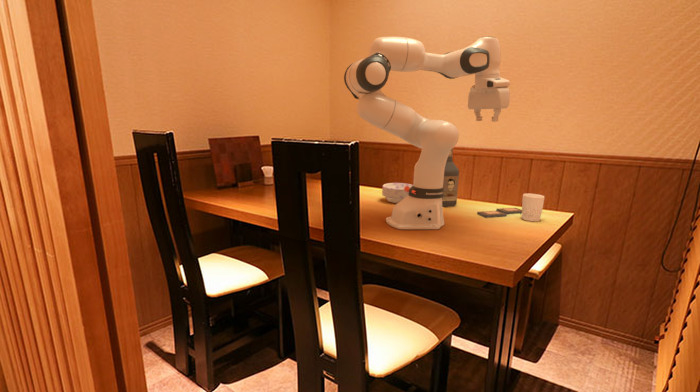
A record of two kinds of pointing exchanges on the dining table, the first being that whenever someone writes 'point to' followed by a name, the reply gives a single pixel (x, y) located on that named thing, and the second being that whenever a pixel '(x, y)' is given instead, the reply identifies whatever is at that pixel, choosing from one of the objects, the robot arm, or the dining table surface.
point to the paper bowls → (395, 191)
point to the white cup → (532, 207)
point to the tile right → (510, 210)
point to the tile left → (491, 214)
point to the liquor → (450, 182)
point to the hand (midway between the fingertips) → (486, 121)
